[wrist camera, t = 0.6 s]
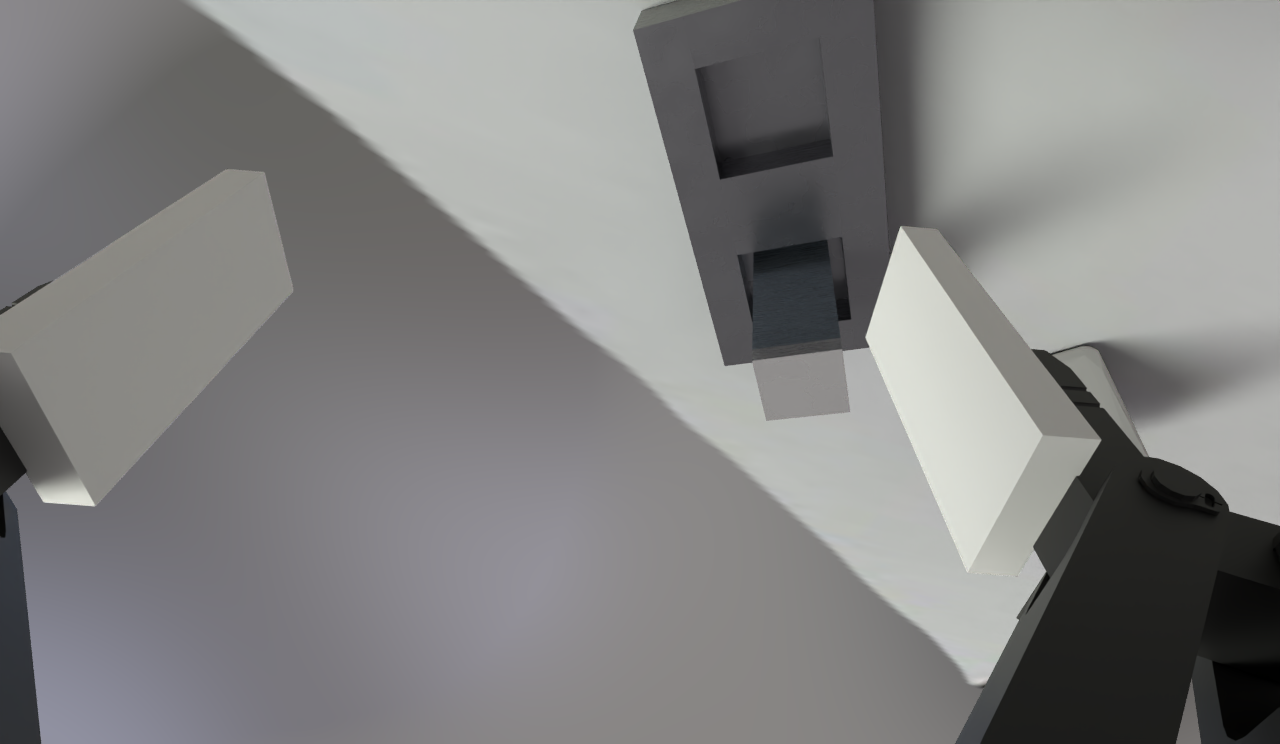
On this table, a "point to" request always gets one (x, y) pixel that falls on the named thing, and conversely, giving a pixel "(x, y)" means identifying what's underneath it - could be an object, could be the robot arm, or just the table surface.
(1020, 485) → the robot arm
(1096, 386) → the electrical switch
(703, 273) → the grey block holder
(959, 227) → the table surface
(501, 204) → the table surface
